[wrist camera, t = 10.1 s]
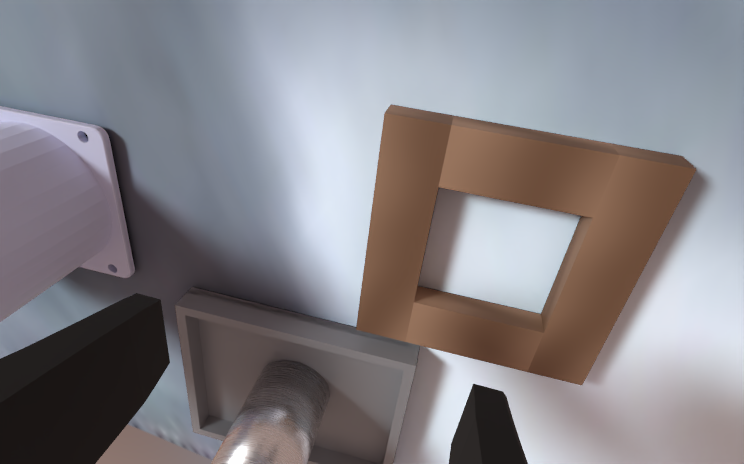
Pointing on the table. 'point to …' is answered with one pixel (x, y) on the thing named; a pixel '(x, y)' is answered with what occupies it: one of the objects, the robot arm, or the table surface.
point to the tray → (301, 344)
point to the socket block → (525, 186)
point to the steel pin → (277, 417)
